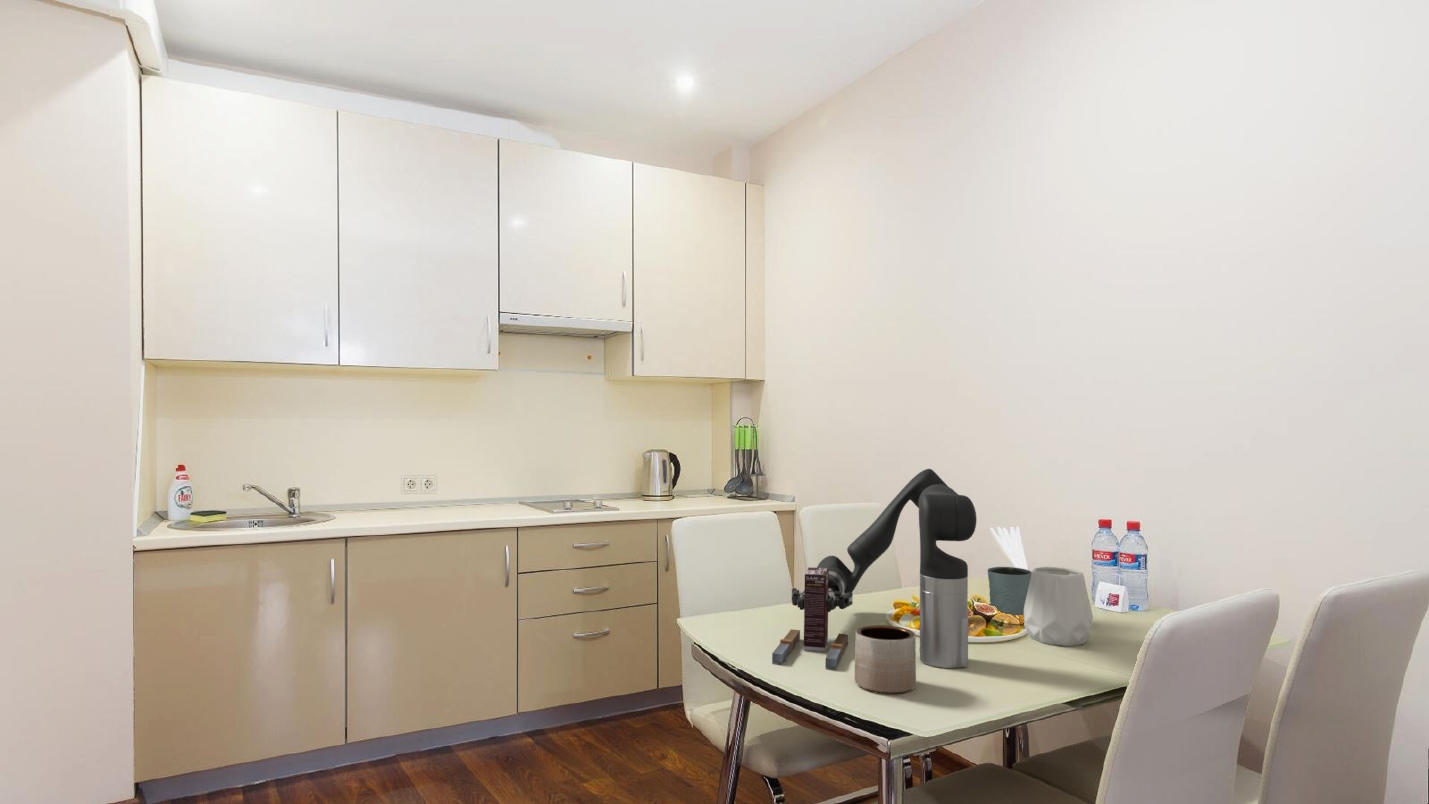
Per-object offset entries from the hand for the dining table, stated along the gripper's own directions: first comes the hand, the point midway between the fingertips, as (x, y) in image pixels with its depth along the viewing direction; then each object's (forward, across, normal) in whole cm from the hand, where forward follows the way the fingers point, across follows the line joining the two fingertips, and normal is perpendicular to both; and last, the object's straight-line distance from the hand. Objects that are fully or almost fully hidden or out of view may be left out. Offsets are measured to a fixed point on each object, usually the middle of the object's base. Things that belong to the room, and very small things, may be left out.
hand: (814, 605), depth 167 cm
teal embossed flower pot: (-40, -41, -9) cm, 58 cm away
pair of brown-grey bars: (+3, 0, -9) cm, 10 cm away
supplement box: (-3, 0, -9) cm, 10 cm away
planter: (+18, -16, -9) cm, 26 cm away
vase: (-25, -50, -9) cm, 56 cm away
